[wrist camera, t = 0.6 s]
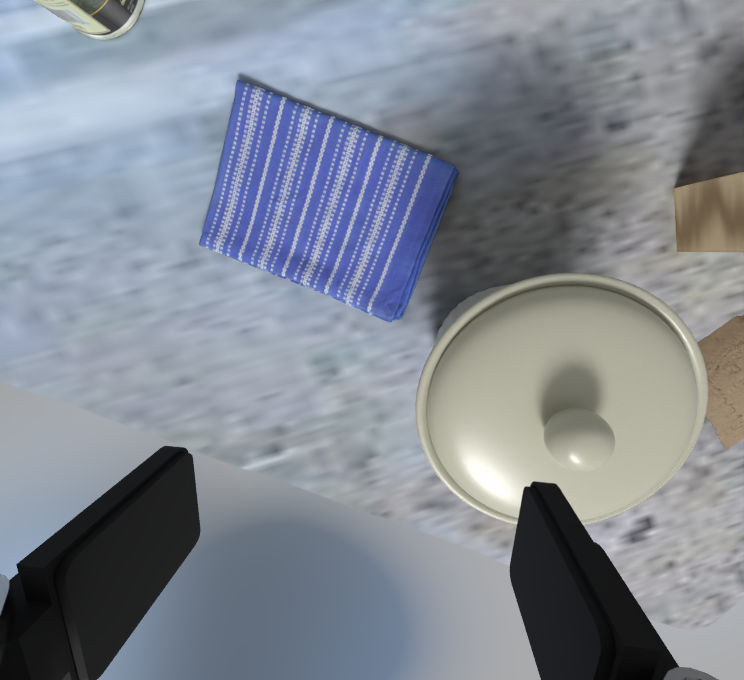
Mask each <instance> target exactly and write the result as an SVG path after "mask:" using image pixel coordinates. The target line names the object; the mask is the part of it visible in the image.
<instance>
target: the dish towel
mask: <svg viewBox="0 0 744 680" xmlns="http://www.w3.org/2000/svg"><path fill="white" fill-rule="evenodd" d="M458 174H459V173H458V170H457V169H455V166H453V165H451V164H449V163H447V162H445V161H442V160H440V159H438V158H436V157H434V156H432V155H431V154H427V153H425V152H421V151H419V150H416V149H413V148H411V147H409V146H407V145H405V144H402V143H399V142H397V141H395V140H391V139H388V138H385V137H384V136H381V135H377V134H375V133H372V132H370V131H368V130H365V129H363V128H361V127H359V126H356V125H352V124H350V123H348V122H345V121H343V120H340V119H338V118H336V117H334V116H330V115H327V114H324V113H321V112H319V111H316V110H314V109H312V108H311V107H309V106H304V105H302V104H300V103H297V102H294V101H292V100H290V99H288V98H286V97H283V96H279V95H276V94H274V93H272V92H269V91H267V90H265V89H263V88H261V87H257V86H253V85H251V84H248V83H245V82H243V81H241V80H237V83H236V91H235V99H234V103H233V107H232V111H231V115H230V120H229V125H228V130H227V134H226V139H225V143H224V148H223V152H222V156H221V160H220V165H219V169H218V174H217V179H216V183H215V187H214V192H213V196H212V199H211V203H210V206H209V210H208V213H207V217H206V221H205V224H204V228H203V233H202V236H201V239H200V243H199V245H200V246H202V247H206V248H208V249H211V250H213V251H215V252H217V253H221V254H223V255H226V256H229V257H232V258H234V259H236V260H239V261H241V262H243V263H245V264H249V265H251V266H254V267H256V268H258V269H261V270H263V271H265V272H268V273H270V274H273V275H276V276H279V277H281V278H284V279H286V280H288V281H292V282H294V283H297V284H299V285H302V286H304V287H306V288H308V289H311V290H315V291H318V292H320V293H324V294H326V295H328V296H330V297H333V298H335V299H337V300H339V301H341V302H344V303H345V304H347V305H349V306H352V307H355V308H358V309H360V310H362V311H364V312H366V313H368V314H370V315H373V316H376V317H378V318H381V319H383V320H385V321H387V322H391V321H392V320H395V319H398V320H399V319H401V318H402V317H403V314H404V312H405V309H406V307H407V305H408V303H409V300H410V298H411V296H412V293H413V291H414V289H415V286H416V284H417V281H418V278H419V275H420V272H421V270H422V267H423V264H424V262H425V259H426V256H427V254H428V252H429V249H430V247H431V244H432V242H433V240H434V237H435V234H436V232H437V229H438V227H439V224H440V222H441V218H442V216H443V213H444V210H445V207H446V204H447V202H448V200H449V197H450V194H451V192H452V189H453V187H454V183H455V179H456V178H457V176H458Z"/></svg>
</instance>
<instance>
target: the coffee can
mask: <svg viewBox="0 0 744 680" xmlns="http://www.w3.org/2000/svg"><path fill="white" fill-rule="evenodd" d="M34 1H35V2H37V3H38V4H40V5H41V6H43V7H44V8H46V9H47V10H49V11H50V12H52V13H53V14H55V15H56V16H58V17H59V18H61V19H62V20H64V21H65V22H67V23H68V24H70V25H71V26H72V27H73V28H75V29H76V30H77V31H79V32H80V33H82V34H84V35H86V36H88V37H91V38H95V39H100V40H108V39H113V38H117V37H119V36H120V35H122V34H124V33H126V32H127V31H128V30H129V29H130V28H131V27H132V26H133V25H134V24H135V22H136V21H137V19H138V17H139V15H140V13H141V11H142V8H143V5H144V0H34Z"/></svg>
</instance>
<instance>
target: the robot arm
mask: <svg viewBox="0 0 744 680" xmlns="http://www.w3.org/2000/svg"><path fill="white" fill-rule="evenodd" d="M199 536H200V521H199V512H198V503H197V493H196V483H195V474H194V464H193V457H192V455H191V454H190V453H188V451H187V449H186V448H182V447H172V446H164V447H162V448H160V449H159V450H158V451H157V452H155V453H154V454H153V455H152V456H151V457H149V458H148V459H147V460H146V461H144V462H143V463H142V464H141V465H139V466H138V467H137V468H136V469H134V470H133V471H132V472H131V473H129V474H128V475H127V476H126V477H124V478H123V479H122V480H121V481H119V482H118V483H117V484H116V485H114V486H113V487H112V488H111V489H110V490H108V491H107V492H106V493H105V494H103V495H102V496H101V497H100V498H98V499H97V500H96V501H95V502H94V503H92V504H91V505H90V506H88V507H87V508H86V509H85V510H83V511H82V512H81V513H80V514H78V515H77V516H76V517H75V518H74V519H72V520H71V521H70V522H69V523H67V524H66V525H65V526H64V527H62V528H61V529H60V530H59V531H57V532H56V533H55V534H54V535H53V536H51V537H50V538H49V539H47V540H46V541H45V542H44V543H43V544H41V545H40V546H39V547H38V548H36V549H35V550H34V551H33V552H31V553H30V554H29V555H28V556H26V557H25V558H24V559H23V560H21V561H20V562H19V563H18V564H17V568H18V572H19V573H18V574H17V575H15V576H14V577H13V578H12V579H11V580H9V579H8V578H7V577H6V576H5V575H2V574H0V680H97V679H98V678H99V677H100V676H101V675H102V674H103V672H104V671H105V670H106V668H107V667H108V666H109V664H110V663H111V661H112V660H113V659H114V657H115V656H116V654H117V653H118V652H119V650H120V649H121V647H122V646H123V645H124V643H125V642H126V641H127V639H128V638H129V636H130V635H131V634H132V632H133V631H134V629H135V628H136V627H137V625H138V624H139V623H140V621H141V620H142V618H143V617H144V615H145V614H146V613H147V611H148V610H149V609H150V607H151V606H152V604H153V603H154V602H155V600H156V599H157V597H158V596H159V595H160V593H161V592H162V591H163V589H164V588H165V586H166V585H167V584H168V582H169V581H170V579H171V578H172V577H173V575H174V574H175V573H176V571H177V570H178V568H179V567H180V566H181V564H182V563H183V561H184V560H185V559H186V557H187V556H188V554H189V553H190V552H191V550H192V549H193V548H194V546H195V544H196V543H197V541H198V539H199ZM510 578H511V583H512V586H513V590H514V593H515V596H516V599H517V603H518V606H519V609H520V613H521V616H522V619H523V622H524V625H525V629H526V632H527V635H528V638H529V642H530V645H531V648H532V652H533V655H534V658H535V662H536V665H537V668H538V671H539V675H540V677H541V680H718V679H716V678H714V677H713V676H711V675H709V674H707V673H704V672H701V671H698V670H695V669H692V668H685V667H679V666H678V664H677V663H676V661H675V660H674V658H673V657H672V655H671V654H670V652H669V650H668V649H667V647H666V646H665V644H664V643H663V641H662V640H661V638H660V636H659V635H658V633H657V632H656V630H655V629H654V627H653V626H652V624H651V623H650V621H649V619H648V618H647V616H646V615H645V613H644V612H643V610H642V609H641V607H640V605H639V604H638V602H637V601H636V599H635V598H634V596H633V595H632V593H631V592H630V590H629V588H628V587H627V585H626V584H625V582H624V581H623V579H622V578H621V576H620V574H619V573H618V571H617V570H616V568H615V567H614V565H613V564H612V562H611V561H610V559H609V557H608V556H607V554H606V553H605V551H604V550H603V549H602V548H601V546H600V545H598V544H597V543H595V542H593V540H592V539H591V537H590V535H589V534H588V532H587V531H586V529H585V528H584V526H583V524H582V523H581V521H580V520H579V518H578V516H577V515H576V513H575V512H574V510H573V508H572V507H571V505H570V504H569V502H568V500H567V499H566V497H565V496H564V494H563V493H562V491H561V489H560V488H559V486H558V485H557V484H555V483H546V482H536V481H533V482H532V483H531V485H530V487H528V486H526V487H524V490H523V494H522V500H521V506H520V511H519V517H518V523H517V529H516V534H515V540H514V546H513V551H512V557H511V563H510Z"/></svg>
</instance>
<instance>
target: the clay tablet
mask: <svg viewBox="0 0 744 680" xmlns="http://www.w3.org/2000/svg"><path fill="white" fill-rule="evenodd" d="M697 344H698V346H699V348H700V351H701V354H702V356H703V360H704V363H705V367H706V373H707V380H708V402H707V409H706V415H705V416H706V417H708V418H709V419H710V420H711V423H712V425H713V427H715V428H716V429H717V434H719V439H721V441H722V443H723V444H725V445H724V447H725V448H726V449H729V448H730V447H731V446H732V445H733V444H735V443H737V442H739V441H740V440H742V439H744V315H743V316H736V317H734V318H732V319H731V320H730V321H728V322H727V323H725V324H724V325H723V326H722V327H720V328H718V329H717V330H715V331H714V332H713V333H711V334H710V335H709V336H707V337H705V338H704V339H702V340H701V341H699V342H698V343H697Z"/></svg>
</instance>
